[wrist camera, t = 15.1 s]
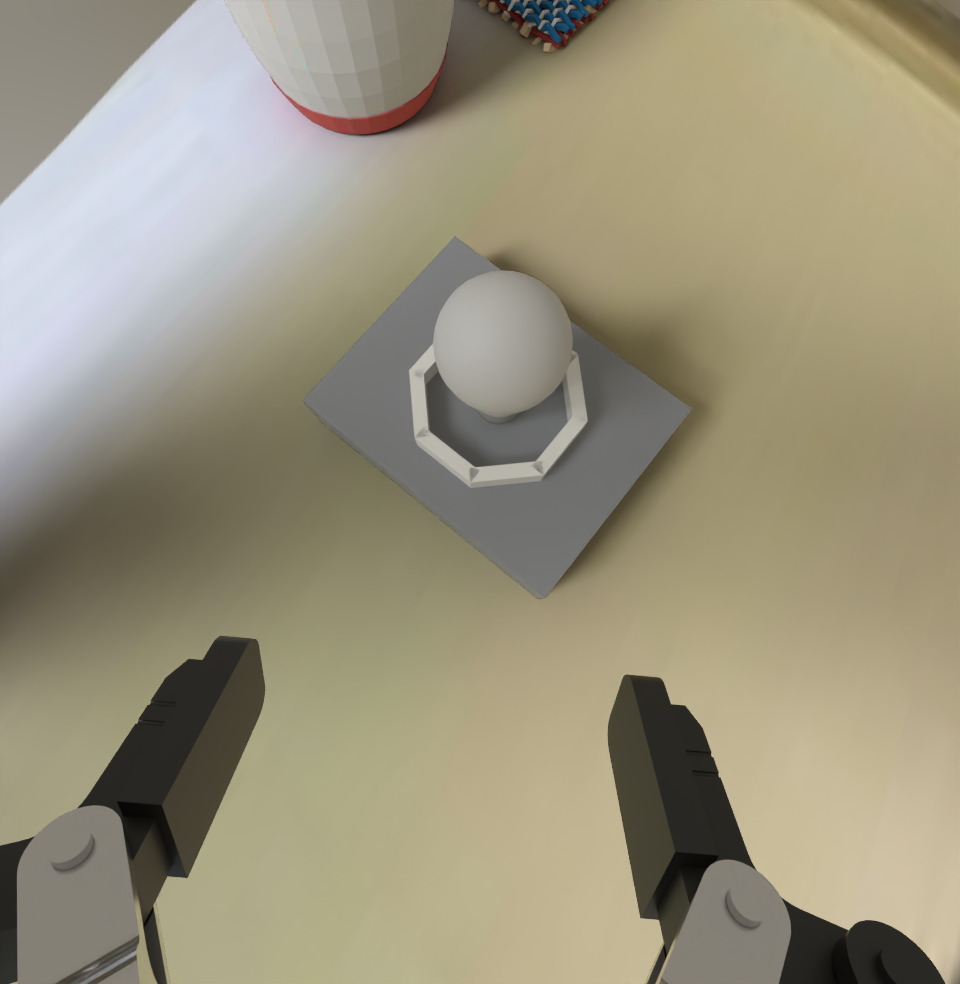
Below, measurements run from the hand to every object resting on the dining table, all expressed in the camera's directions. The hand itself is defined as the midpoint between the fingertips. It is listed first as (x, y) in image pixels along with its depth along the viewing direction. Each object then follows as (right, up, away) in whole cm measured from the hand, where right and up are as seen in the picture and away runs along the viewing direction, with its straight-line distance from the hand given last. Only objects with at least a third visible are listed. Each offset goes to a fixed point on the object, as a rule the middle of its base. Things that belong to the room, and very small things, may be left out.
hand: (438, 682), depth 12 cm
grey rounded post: (+2, +9, +20) cm, 22 cm away
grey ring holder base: (+2, +9, +24) cm, 25 cm away
